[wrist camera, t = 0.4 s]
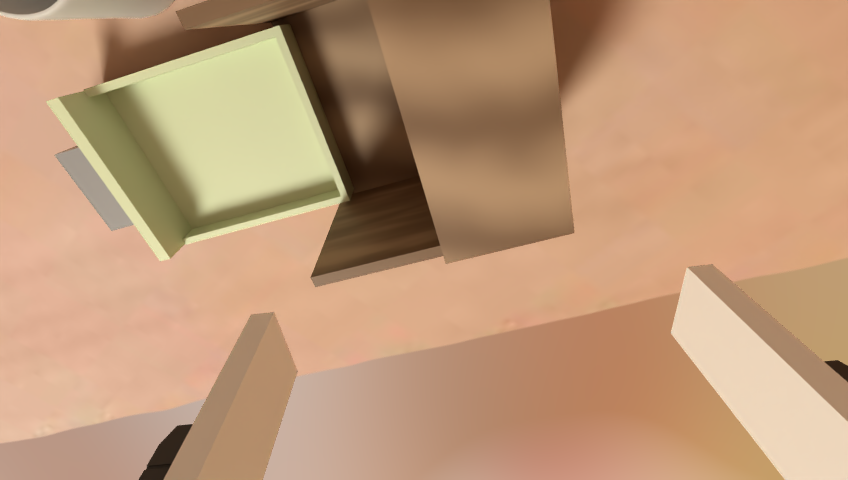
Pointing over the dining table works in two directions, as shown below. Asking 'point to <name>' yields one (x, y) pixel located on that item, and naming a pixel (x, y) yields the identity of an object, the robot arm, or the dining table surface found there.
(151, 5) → the mug
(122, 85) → the tray
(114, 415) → the dining table surface
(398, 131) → the cubby
